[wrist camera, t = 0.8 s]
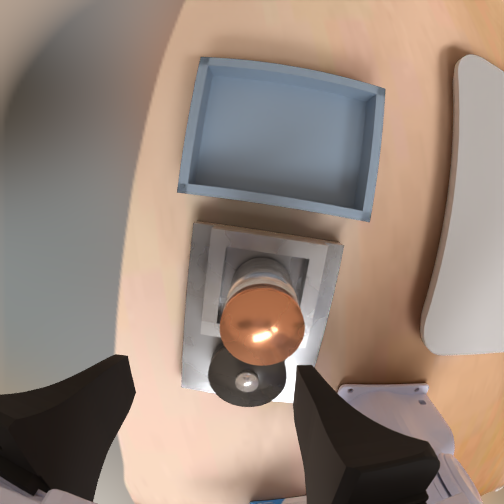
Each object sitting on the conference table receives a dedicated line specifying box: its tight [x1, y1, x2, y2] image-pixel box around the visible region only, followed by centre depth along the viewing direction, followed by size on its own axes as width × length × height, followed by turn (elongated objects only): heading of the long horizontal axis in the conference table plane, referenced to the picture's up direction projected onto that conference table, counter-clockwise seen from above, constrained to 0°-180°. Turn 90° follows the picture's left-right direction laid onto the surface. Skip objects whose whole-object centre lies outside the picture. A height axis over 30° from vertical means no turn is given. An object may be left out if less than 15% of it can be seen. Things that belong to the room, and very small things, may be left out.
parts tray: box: [177, 57, 385, 222], centre depth 18 cm, size 12×9×2 cm
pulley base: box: [181, 221, 344, 407], centre depth 20 cm, size 10×13×3 cm
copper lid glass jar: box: [220, 258, 305, 366], centre depth 17 cm, size 4×4×6 cm
